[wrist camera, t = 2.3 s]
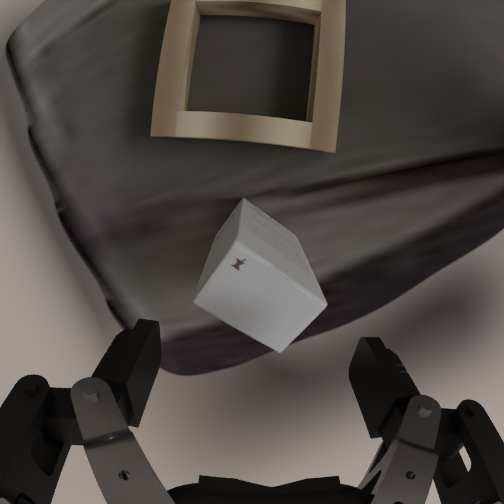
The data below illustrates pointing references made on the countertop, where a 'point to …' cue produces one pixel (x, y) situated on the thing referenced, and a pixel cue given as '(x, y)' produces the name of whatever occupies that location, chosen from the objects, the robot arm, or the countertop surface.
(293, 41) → the countertop surface
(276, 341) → the skincare box
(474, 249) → the countertop surface
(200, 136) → the birch stand
